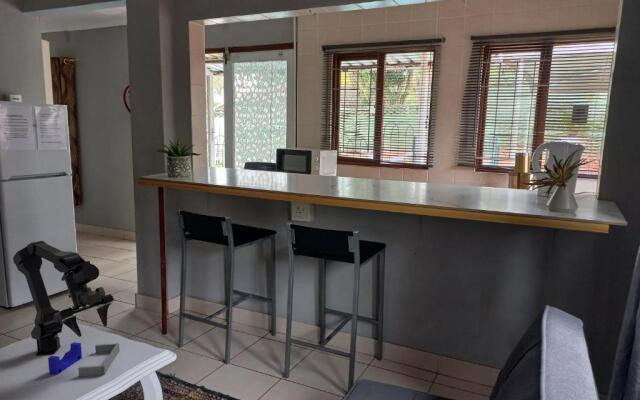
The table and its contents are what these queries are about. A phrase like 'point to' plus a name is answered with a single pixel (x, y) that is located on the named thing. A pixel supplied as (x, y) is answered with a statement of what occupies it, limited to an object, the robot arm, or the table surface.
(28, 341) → the table surface
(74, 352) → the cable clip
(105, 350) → the grey u-shaped bracket
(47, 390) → the table surface
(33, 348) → the table surface
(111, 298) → the robot arm
